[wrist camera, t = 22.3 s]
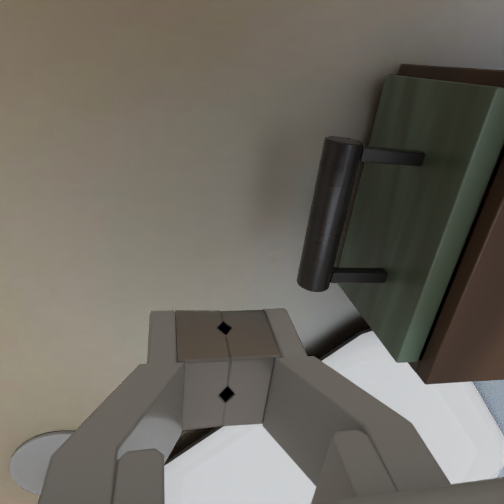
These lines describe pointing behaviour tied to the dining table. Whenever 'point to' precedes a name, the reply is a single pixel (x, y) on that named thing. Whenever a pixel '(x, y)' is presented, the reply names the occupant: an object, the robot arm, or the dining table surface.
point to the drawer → (404, 205)
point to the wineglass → (35, 460)
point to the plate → (376, 384)
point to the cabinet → (470, 277)
